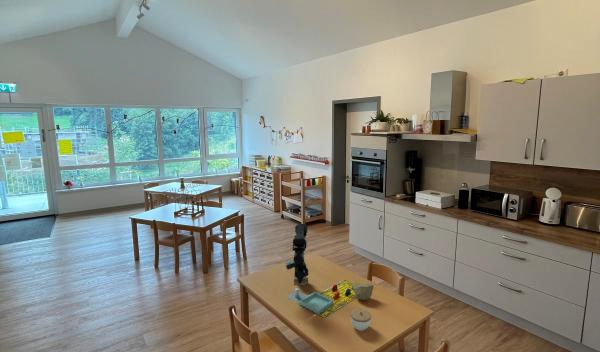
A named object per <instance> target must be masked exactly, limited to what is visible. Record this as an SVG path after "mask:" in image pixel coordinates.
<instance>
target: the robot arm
mask: <svg viewBox="0 0 600 352" xmlns="http://www.w3.org/2000/svg"><path fill="white" fill-rule="evenodd" d="M308 229H309V227H308V225H306V224H304V223H298V224H297V225H295V228H294V233H295V235H294V236H293V238H292V251H293V252H294V254H293V259H291V260H289V261H285V266H286V267H285V268H286V270H287V271H288V270H291V269H293V268H294V274H295V277H297V278H298V282H299V284H301V282H302V280H303V278H304V277H305V278H307V277H308V276H309V269H308V267H307V264H306V262H305V252H306V250H307V239H306V237H307V234H308V232H309V231H308ZM300 286H301V287H302V286H303V285H300Z"/></svg>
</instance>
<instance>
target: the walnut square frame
mask: <svg viewBox="0 0 600 352" xmlns="http://www.w3.org/2000/svg"><path fill="white" fill-rule="evenodd" d="M306 284H309V277H306V278H305V277H304V278H303V280H302V282H301V284H299V282H298V278H297V277H295V273H294V274H293V286H301V285H302V286H306Z"/></svg>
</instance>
